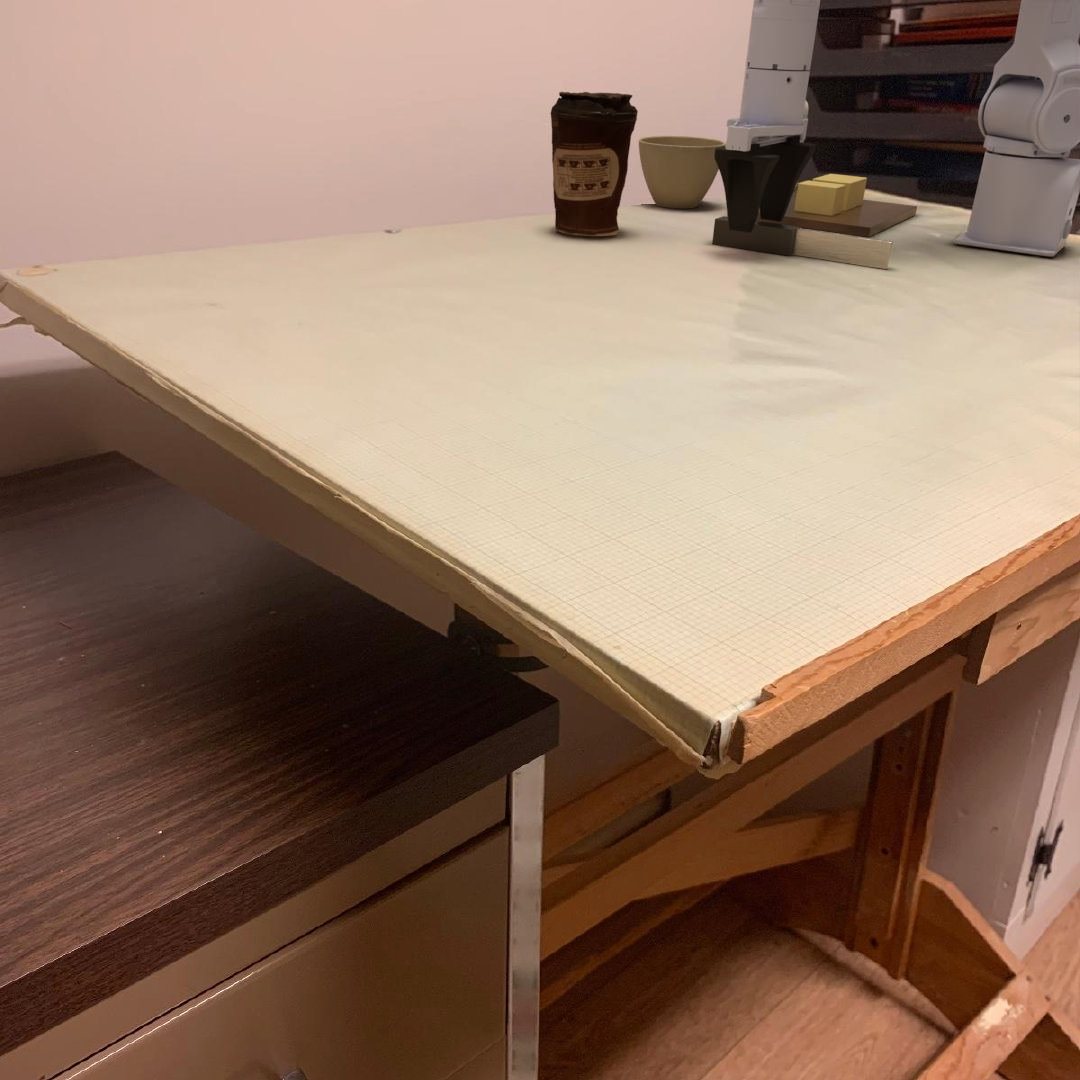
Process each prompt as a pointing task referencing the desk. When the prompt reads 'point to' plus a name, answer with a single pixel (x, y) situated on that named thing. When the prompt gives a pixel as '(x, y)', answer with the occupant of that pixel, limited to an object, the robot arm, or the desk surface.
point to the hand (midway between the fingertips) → (756, 225)
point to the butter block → (847, 188)
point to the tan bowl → (678, 168)
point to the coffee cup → (590, 160)
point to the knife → (804, 243)
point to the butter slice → (819, 198)
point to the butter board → (849, 218)
